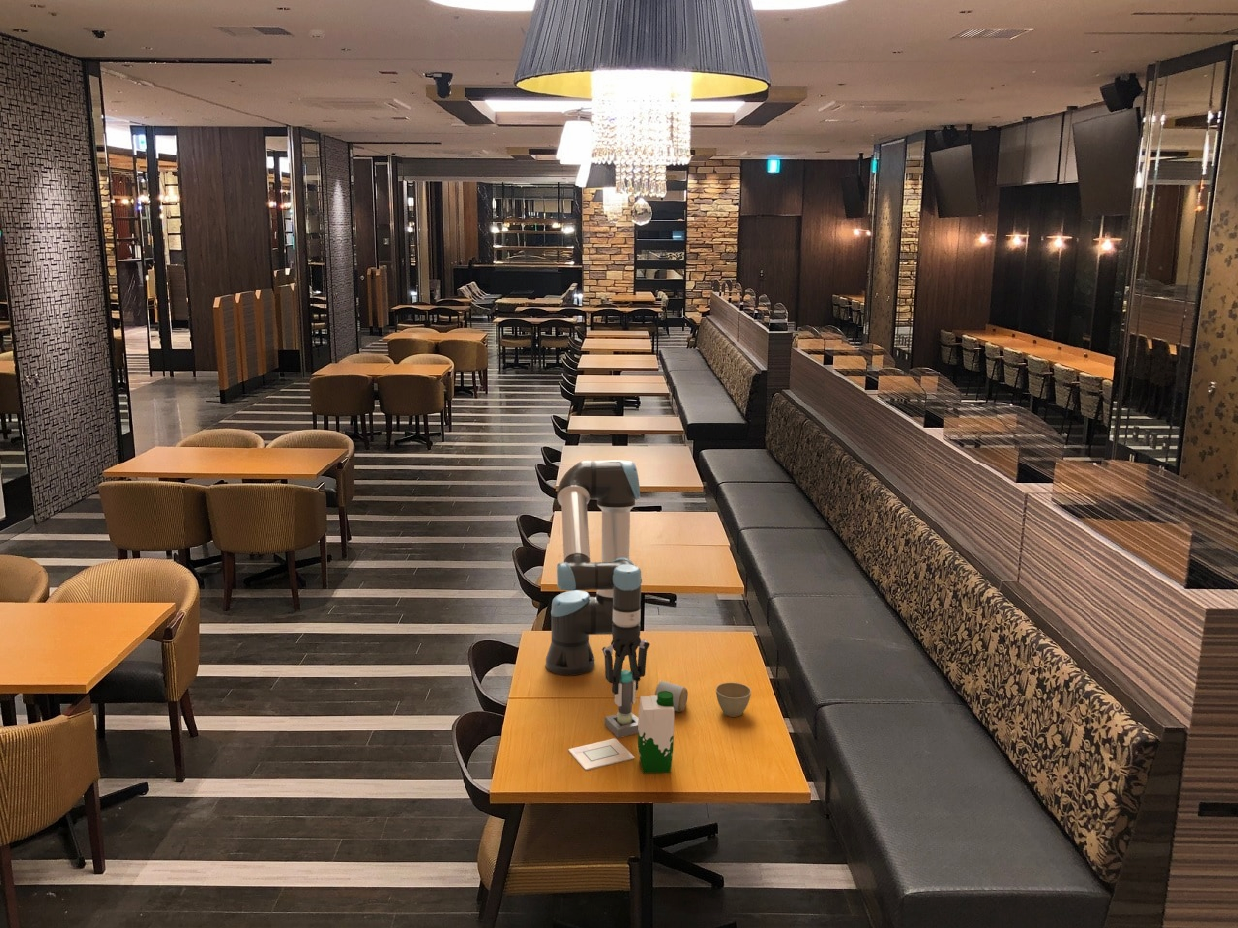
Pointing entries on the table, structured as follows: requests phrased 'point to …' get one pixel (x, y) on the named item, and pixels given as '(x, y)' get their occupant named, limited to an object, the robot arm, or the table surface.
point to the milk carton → (656, 732)
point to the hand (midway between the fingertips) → (624, 702)
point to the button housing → (622, 730)
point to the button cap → (624, 719)
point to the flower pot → (733, 698)
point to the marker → (626, 693)
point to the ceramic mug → (674, 694)
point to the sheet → (600, 754)
